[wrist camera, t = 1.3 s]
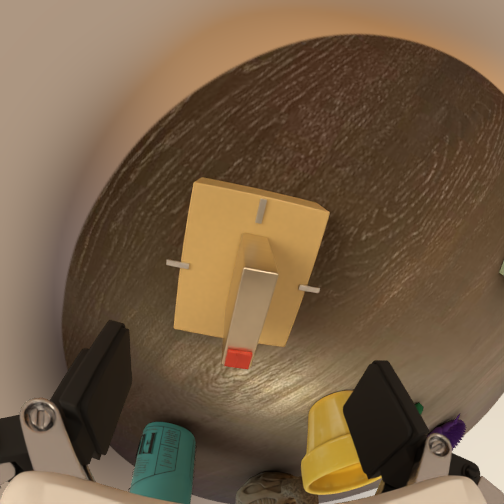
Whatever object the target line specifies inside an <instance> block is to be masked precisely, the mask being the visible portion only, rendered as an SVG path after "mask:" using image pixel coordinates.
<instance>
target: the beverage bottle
mask: <svg viewBox="0 0 504 504" xmlns="http://www.w3.org/2000/svg"><path fill="white" fill-rule="evenodd" d="M142 431H143V430H142ZM141 434H142V433H141ZM141 437H142V438H141ZM141 437H140V439H141V441H140V443H139V446H140V448H139V447H138V450H139V452H138V450H137V453H138V456H137V454H136V456H137V459H136V458H135V459H136V465H135V464H134V465H135V468H134V474H133V479H132V483H131V488H130V493H134V494H138V495H142V496H146V497H150V498H155V499H159V500H164V501H170V502H175V503H181V504H190V500H191V492H192V484H193V483H192V480H194V479H193V478H194V477H193V473H194V472H195V471H194V470H193V468H194V467H195V466H194V465H195V464H194V459H196V458H195V452H196V451H195V449H196V448H195V446H196V445H195V444H197V443H196V442H195V438H194V436H193V434H192V433H191V432H190V431H188V430H187V429H185V428H183V427H181V426H178V425H175V424H171V423H166V422H153V423H150V424H148V425H147V426H146V427H145V428H144V431H143V435H142V436H141ZM196 447H197V446H196ZM194 469H195V468H194ZM193 486H194V485H193ZM192 494H193V493H192Z"/></svg>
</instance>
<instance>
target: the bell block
mask: <svg viewBox="0 0 504 504" xmlns="http://www.w3.org/2000/svg"><path fill="white" fill-rule="evenodd" d="M499 273H500V274H502V275H503V276H504V261H503V264H502V266H501V269H500V272H499Z"/></svg>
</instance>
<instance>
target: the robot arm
mask: <svg viewBox="0 0 504 504" xmlns="http://www.w3.org/2000/svg"><path fill="white" fill-rule="evenodd" d="M131 384H132V372H131V357H130V336H129V329H126V328H125V325H124V324H123V323H119V322H116V321H112V320H109V321H108V322H107V323H106V325H105V326H104V328H103V329H102V331H101V332H100V334H99V335H98V337H97V338H96V340H95V341H94V343H93V344H92V346H91V347H90V349H86V348H84V349H82V350H81V352H80V353H79V355H78V356H77V358H76V359H75V361H74V362H73V364H72V365H71V367H70V368H69V370H68V372H67V373H66V375H65V376H64V378H63V380H62V381H61V383H60V385H59V386H58V388H57V390H56V391H55V393H54V394H53V396H52V398H51V399H50V401H49V400H48V399H44V398H33V399H30V400H28V401H27V402H25V403H24V404H23V406H22V407H21V410H20V415H16V416H12V417H7V418H1V419H0V485H2V484H3V483H5V482H7V481H8V482H10V483H9V484H8V486H7V487H6V489H5V491H4V492H3V494H2V497H1V499H0V504H181V503H175V502H170V501H164V500H159V499H155V498H150V497H146V496H142V495H138V494H134V493H130V492H127V491H123V490H120V489H116V488H112V487H109V486H106V485H102V484H99V483H96V481H95V480H94V477H93V476H92V473H91V472H90V469H89V467H88V464H90V461H91V458H95V459H97V460H100V457H101V454H103V455H106V453H107V451H108V448H109V445H110V442H111V439H112V436H113V434H114V431H115V428H116V425H117V422H118V419H119V417H120V414H121V411H122V408H123V406H124V403H125V400H126V398H127V395H128V393H129V390H130V387H131ZM343 414H344V417H345V420H346V423H347V426H348V428H349V431H350V434H351V437H352V440H353V443H354V446H355V449H356V452H357V455H358V458H359V461H360V464H361V467H362V470H363V472H364V473H365V474H366V475H367V478H368V479H372V478H377V477H379V476H380V475H381V477H382V480H381V483H380V485H379V487H378V489H377V491H376V494H375V495H374V496H370V497H367V498H362V499H358V500H352V501H348V502H342V503H337V504H504V494H503V493H502V492H501V491H500V490H499V489H498V488H496V487H495V486H494V485H493V484H492V483H490V482H489V481H488V480H487V479H485V478H484V477H483V476H481V477H480V471H479V468H478V466H477V465H476V464H475V463H473V462H471V461H469V460H466V459H464V458H462V457H460V456H457V455H455V454H453V453H452V446H451V443H450V441H449V440H448V438H446V437H445V436H444V435H442V434H439V433H432V434H430V435H429V436H428V437H426V434H427V433H428V432H429V430H428V428H427V426H426V424H425V422H424V421H423V419H422V417H421V415H420V413H419V412H418V410H417V408H416V406H415V405H414V403H413V401H412V400H411V398H410V396H409V394H408V393H407V391H406V389H405V388H404V386H403V384H402V383H401V381H400V379H399V378H398V376H397V374H396V373H395V371H394V369H393V368H392V366H391V365H390V363H389V362H388V361H379V360H376V361H374V362H373V363H372V364H370V365H369V366H368V368H367V369H366V371H365V373H364V374H363V376H362V378H361V379H360V381H359V383H358V384H357V386H356V387H355V389H354V390H353V392H352V393H351V395H350V396H349V398H348V399H347V401H346V402H345V404H344V406H343ZM0 488H1V486H0Z"/></svg>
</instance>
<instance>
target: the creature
mask: <svg viewBox="0 0 504 504" xmlns="http://www.w3.org/2000/svg"><path fill="white" fill-rule="evenodd" d="M459 416H460V414H459V415H458V416H457V418H456V419H455V420H451V421H449V422H447V423H445V424H443V425H442V426H441V427H436V428H435V429H434V430H433V431H432V432H431V433H430V434H432V433H439V434H442V435H444V436H445V437H446V438H448V440H449V441H450V443H451V446H452V450H453V448H455V445H456V446H457V445H458V444H457V443H460V441H459V440H462V439H461V438H462V437H463V436H462V435H464V433H463V432H466V431H464V430H466V429H465V424H464V422H463V421H462V420H459V419H458V418H459ZM466 428H467V427H466ZM430 434H429V435H430ZM429 435H428V436H429ZM428 436H427V437H428ZM460 437H461V438H460Z"/></svg>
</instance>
